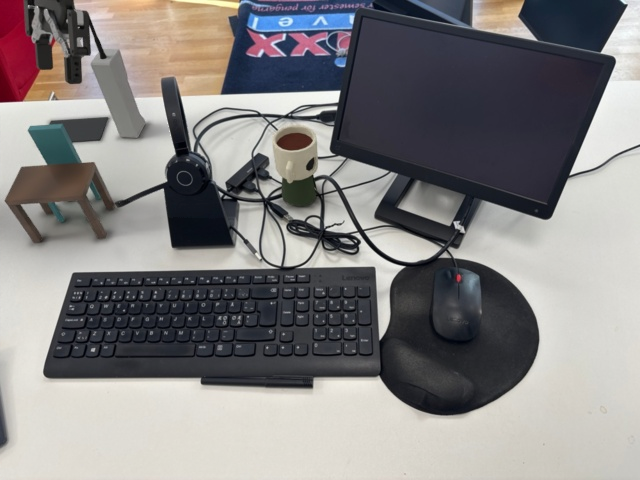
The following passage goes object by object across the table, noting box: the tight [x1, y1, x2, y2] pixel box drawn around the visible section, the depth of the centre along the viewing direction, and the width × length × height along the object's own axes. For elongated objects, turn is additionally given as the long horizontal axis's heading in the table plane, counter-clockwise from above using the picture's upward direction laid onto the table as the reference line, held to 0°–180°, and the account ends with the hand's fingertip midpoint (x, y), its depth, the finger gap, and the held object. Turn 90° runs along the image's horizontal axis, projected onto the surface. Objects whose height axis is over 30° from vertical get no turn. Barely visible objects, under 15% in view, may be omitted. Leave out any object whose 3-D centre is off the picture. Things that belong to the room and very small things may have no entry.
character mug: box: [271, 124, 319, 207], centre depth 87 cm, size 11×7×13 cm, turn 170°
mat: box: [48, 116, 109, 143], centre depth 107 cm, size 12×8×1 cm, turn 93°
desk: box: [4, 161, 116, 244], centre depth 86 cm, size 12×8×10 cm, turn 93°
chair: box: [27, 124, 102, 223], centre depth 86 cm, size 6×6×16 cm
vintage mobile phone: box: [88, 12, 146, 139], centre depth 97 cm, size 4×5×25 cm
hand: (59, 76), depth 79 cm, fingers open, 8 cm apart
